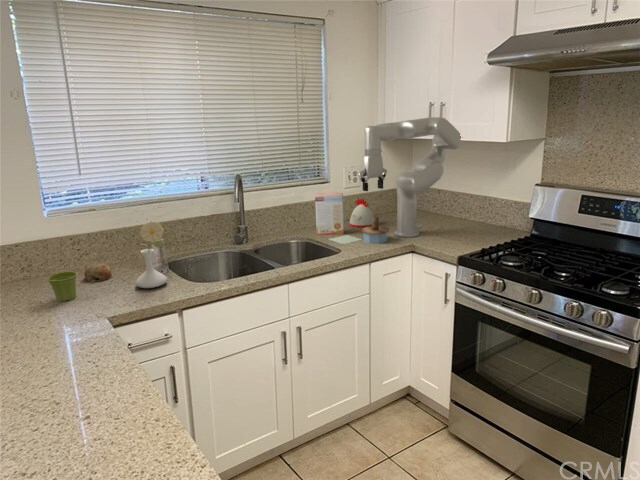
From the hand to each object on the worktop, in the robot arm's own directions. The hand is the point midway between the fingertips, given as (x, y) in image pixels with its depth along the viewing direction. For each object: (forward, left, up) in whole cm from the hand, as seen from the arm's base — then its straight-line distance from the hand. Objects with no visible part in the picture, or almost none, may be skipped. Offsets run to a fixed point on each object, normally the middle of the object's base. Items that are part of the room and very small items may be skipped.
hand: (373, 189), depth 226 cm
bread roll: (+119, -30, -25) cm, 125 cm away
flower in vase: (+104, -6, -25) cm, 107 cm away
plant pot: (+133, -13, -25) cm, 136 cm away
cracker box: (+8, -24, -25) cm, 36 cm away
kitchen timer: (-16, -27, -25) cm, 40 cm away
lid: (0, +2, -20) cm, 20 cm away
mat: (+10, -9, -25) cm, 28 cm away
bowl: (0, +2, -25) cm, 25 cm away
